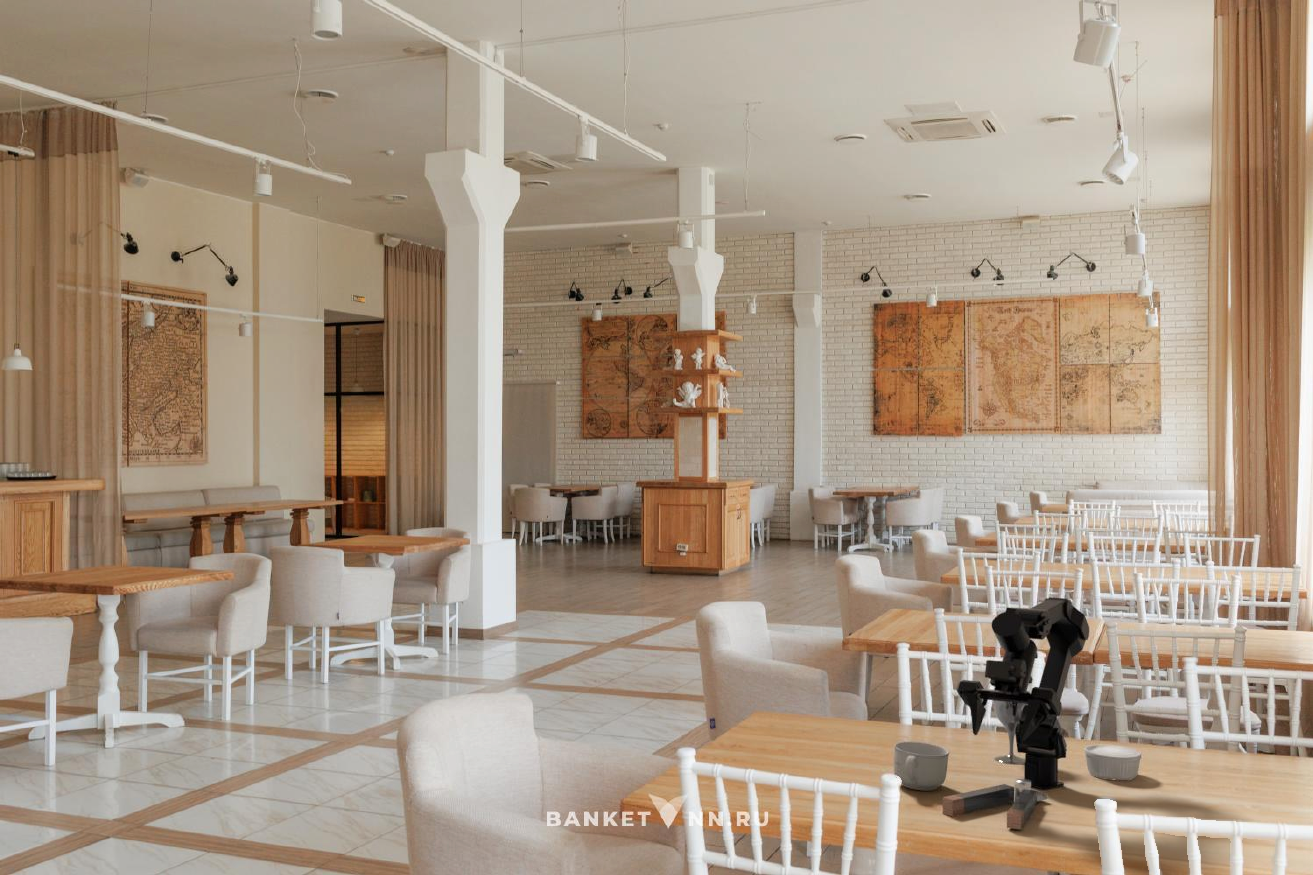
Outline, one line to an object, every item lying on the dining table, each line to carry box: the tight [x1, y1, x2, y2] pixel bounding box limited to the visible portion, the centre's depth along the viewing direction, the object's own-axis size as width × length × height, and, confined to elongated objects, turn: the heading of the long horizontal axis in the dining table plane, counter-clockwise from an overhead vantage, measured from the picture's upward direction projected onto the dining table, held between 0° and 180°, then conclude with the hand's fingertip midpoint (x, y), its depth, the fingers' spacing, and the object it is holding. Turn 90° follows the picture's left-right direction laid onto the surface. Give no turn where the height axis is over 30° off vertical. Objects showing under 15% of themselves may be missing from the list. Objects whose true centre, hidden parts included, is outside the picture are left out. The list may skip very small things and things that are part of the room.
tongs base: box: [942, 778, 1048, 818], centre depth 218 cm, size 23×5×4 cm, turn 123°
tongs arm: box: [1006, 789, 1037, 831], centre depth 212 cm, size 17×2×3 cm, turn 153°
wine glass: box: [992, 690, 1031, 765], centre depth 253 cm, size 8×8×15 cm
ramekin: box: [1083, 744, 1142, 781], centre depth 242 cm, size 11×11×5 cm
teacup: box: [893, 741, 950, 792], centre depth 230 cm, size 14×11×8 cm
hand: (997, 736), depth 215 cm, fingers open, 9 cm apart
